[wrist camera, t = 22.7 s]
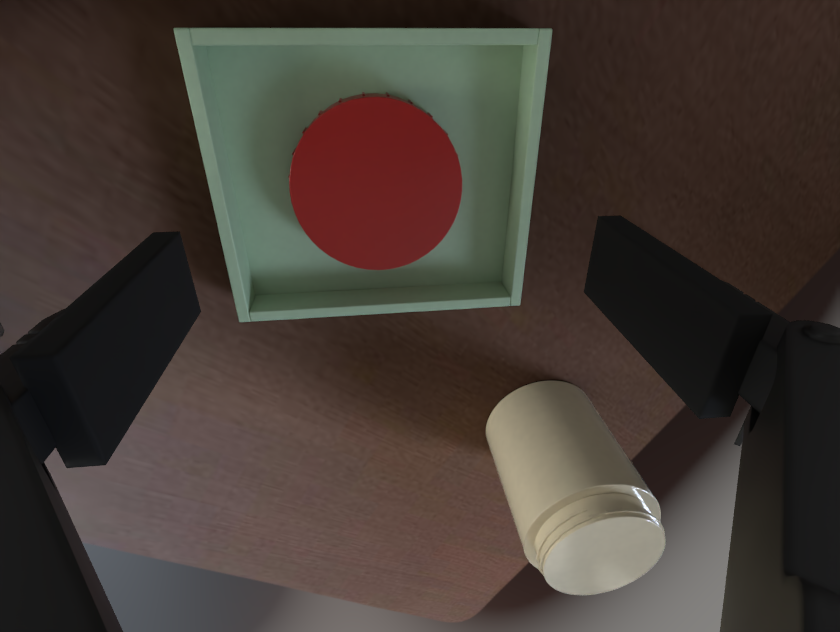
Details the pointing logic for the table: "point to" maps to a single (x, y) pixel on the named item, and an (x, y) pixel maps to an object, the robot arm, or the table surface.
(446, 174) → the jar lid
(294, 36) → the tray
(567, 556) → the jar
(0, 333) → the owl
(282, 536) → the table surface
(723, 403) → the robot arm
